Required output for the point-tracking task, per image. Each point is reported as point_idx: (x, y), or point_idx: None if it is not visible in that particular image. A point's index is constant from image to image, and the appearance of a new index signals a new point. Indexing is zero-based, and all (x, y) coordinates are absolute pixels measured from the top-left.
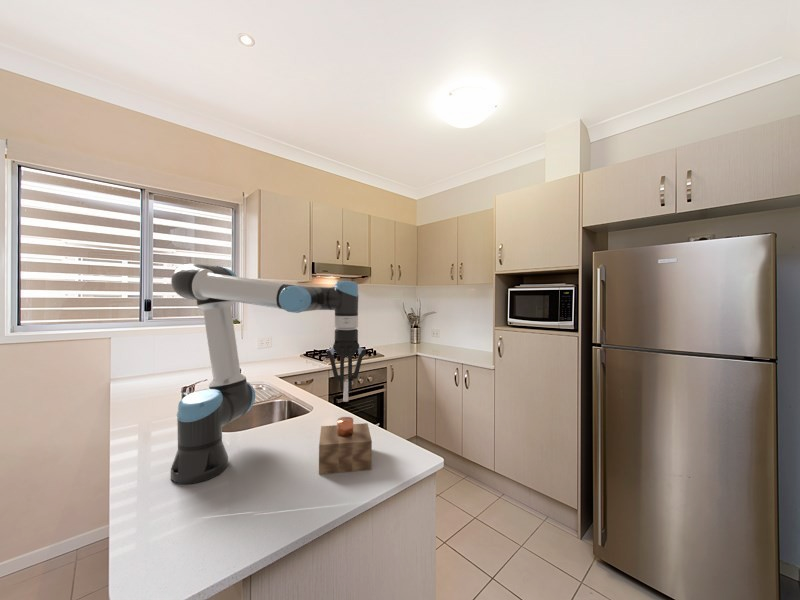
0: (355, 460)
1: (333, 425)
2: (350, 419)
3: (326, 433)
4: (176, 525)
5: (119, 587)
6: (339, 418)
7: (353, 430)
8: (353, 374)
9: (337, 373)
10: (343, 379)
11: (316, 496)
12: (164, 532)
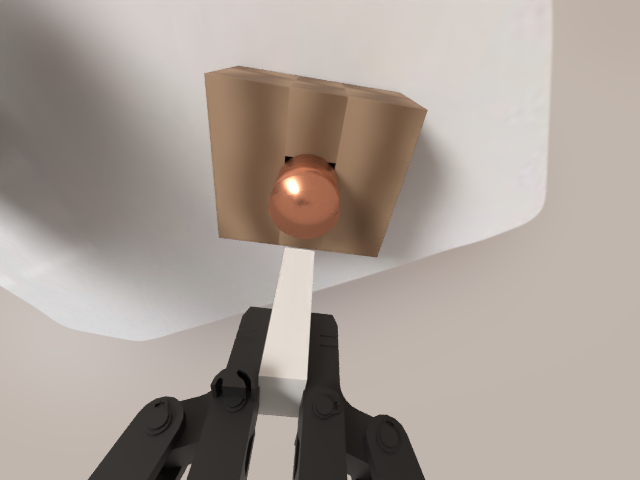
0: None
1: (264, 83)
2: (326, 212)
3: (236, 163)
4: (34, 260)
5: (59, 323)
6: (279, 188)
7: (343, 168)
8: (362, 463)
9: (158, 471)
10: (251, 434)
11: (243, 258)
12: (29, 268)
